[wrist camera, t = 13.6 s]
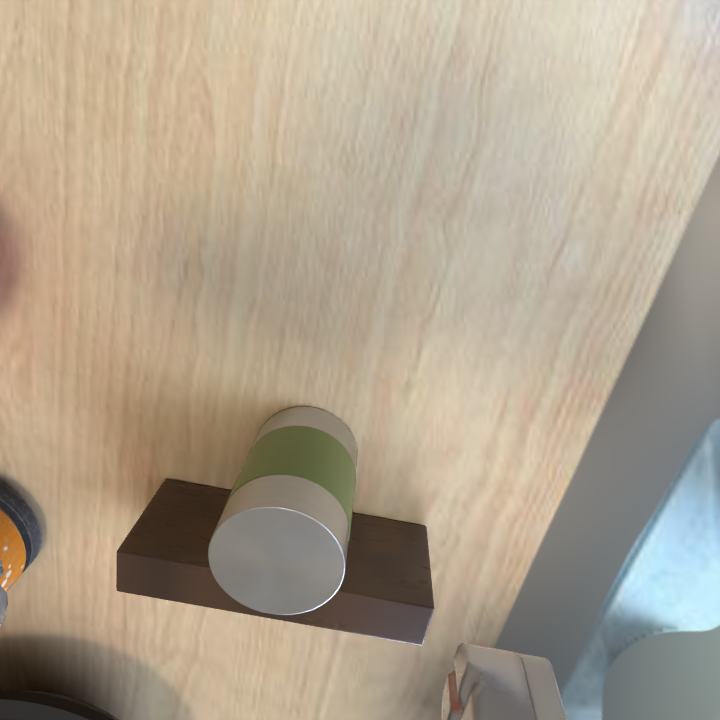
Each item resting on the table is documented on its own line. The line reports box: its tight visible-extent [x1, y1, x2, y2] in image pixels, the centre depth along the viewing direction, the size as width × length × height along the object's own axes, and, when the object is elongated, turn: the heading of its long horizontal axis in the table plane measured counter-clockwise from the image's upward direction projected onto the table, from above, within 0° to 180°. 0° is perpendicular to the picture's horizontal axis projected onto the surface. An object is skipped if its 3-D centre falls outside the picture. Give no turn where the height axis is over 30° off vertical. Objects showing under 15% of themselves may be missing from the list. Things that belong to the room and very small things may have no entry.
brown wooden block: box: [117, 479, 434, 645], centre depth 34 cm, size 18×6×7 cm, turn 80°
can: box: [208, 407, 357, 615], centre depth 30 cm, size 7×7×10 cm
